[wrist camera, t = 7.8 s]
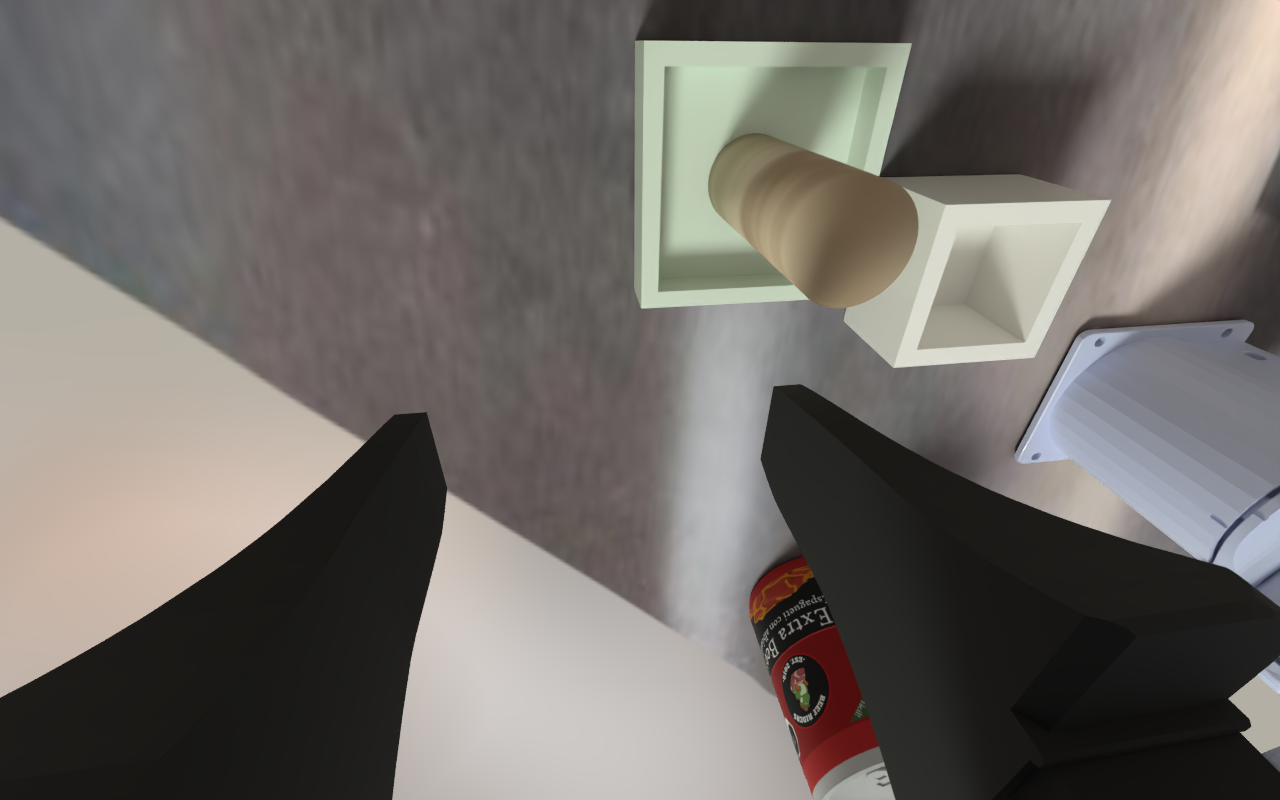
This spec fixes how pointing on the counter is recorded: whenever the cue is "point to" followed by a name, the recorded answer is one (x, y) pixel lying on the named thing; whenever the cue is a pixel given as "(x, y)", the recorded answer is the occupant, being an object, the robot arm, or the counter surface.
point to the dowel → (815, 218)
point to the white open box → (980, 269)
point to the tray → (721, 112)
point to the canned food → (817, 687)
